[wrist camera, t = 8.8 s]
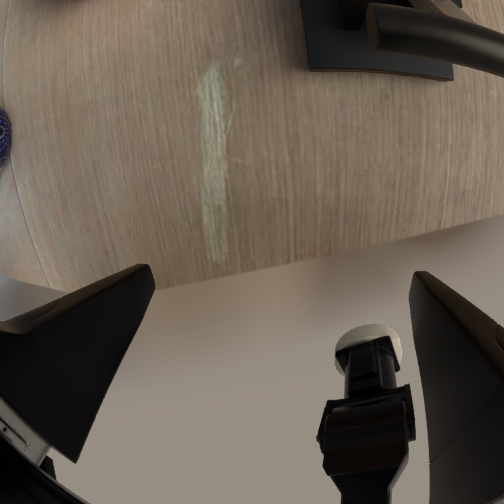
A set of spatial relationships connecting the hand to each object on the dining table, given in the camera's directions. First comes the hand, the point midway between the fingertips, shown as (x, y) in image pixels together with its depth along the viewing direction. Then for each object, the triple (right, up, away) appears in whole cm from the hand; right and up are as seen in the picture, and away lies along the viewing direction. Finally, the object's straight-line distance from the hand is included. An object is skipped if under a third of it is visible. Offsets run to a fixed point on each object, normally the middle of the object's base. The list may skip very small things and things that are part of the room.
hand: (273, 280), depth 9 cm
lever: (+6, +10, -2) cm, 12 cm away
